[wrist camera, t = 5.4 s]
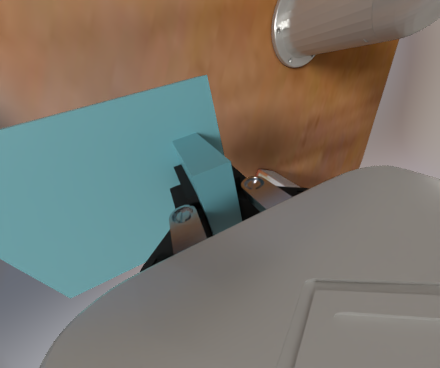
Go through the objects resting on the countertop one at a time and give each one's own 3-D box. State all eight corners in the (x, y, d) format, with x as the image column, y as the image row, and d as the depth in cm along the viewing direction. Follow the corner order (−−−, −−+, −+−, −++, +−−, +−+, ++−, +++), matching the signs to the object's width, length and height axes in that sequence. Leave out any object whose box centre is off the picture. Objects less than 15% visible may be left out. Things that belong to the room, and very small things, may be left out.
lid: (197, 76, 11) (258, 65, 5) (228, 205, 17) (270, 262, 12) (-95, 154, 8) (-713, 330, 2) (78, 274, 14) (38, 395, 9)
